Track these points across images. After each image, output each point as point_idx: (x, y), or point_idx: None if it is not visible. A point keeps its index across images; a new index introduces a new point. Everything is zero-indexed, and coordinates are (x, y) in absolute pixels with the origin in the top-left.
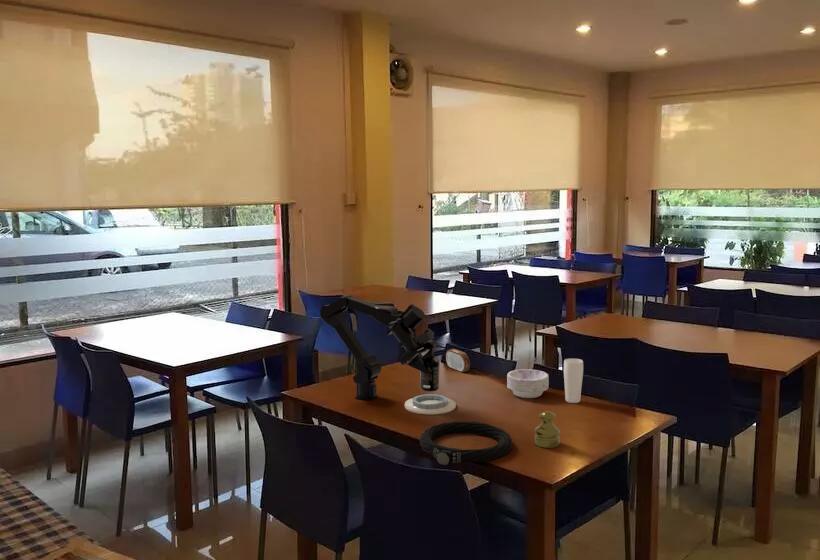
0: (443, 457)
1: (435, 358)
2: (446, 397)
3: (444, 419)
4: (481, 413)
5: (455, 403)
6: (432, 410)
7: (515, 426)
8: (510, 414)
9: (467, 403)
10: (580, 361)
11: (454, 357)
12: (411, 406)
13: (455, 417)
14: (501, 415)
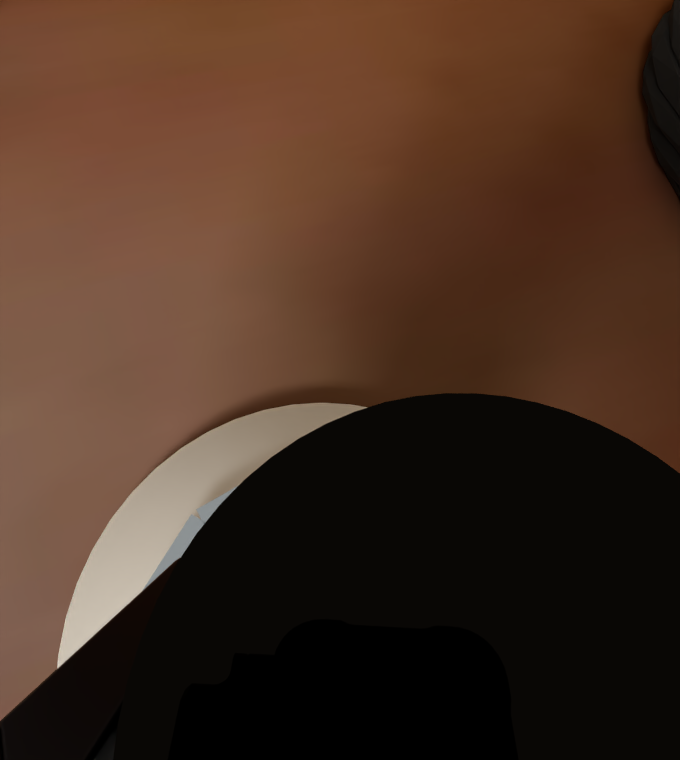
0: None
1: (178, 642)
2: (192, 515)
3: (573, 394)
4: (326, 212)
5: (230, 423)
6: None
7: (465, 12)
8: (272, 66)
9: (124, 366)
10: None
11: None
12: None
13: (491, 338)
14: (313, 103)
